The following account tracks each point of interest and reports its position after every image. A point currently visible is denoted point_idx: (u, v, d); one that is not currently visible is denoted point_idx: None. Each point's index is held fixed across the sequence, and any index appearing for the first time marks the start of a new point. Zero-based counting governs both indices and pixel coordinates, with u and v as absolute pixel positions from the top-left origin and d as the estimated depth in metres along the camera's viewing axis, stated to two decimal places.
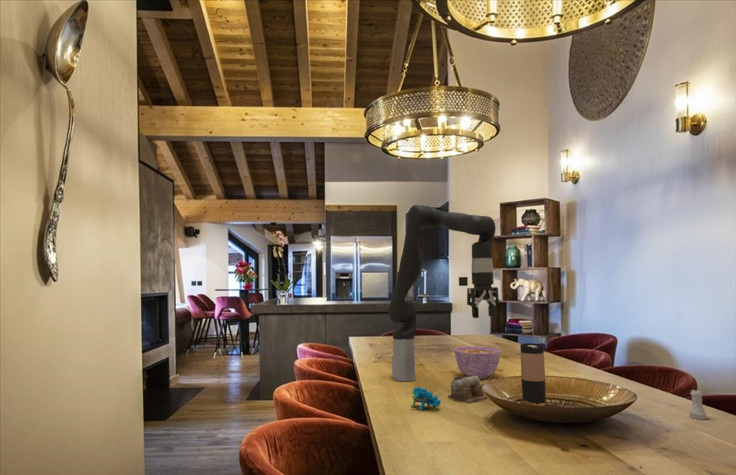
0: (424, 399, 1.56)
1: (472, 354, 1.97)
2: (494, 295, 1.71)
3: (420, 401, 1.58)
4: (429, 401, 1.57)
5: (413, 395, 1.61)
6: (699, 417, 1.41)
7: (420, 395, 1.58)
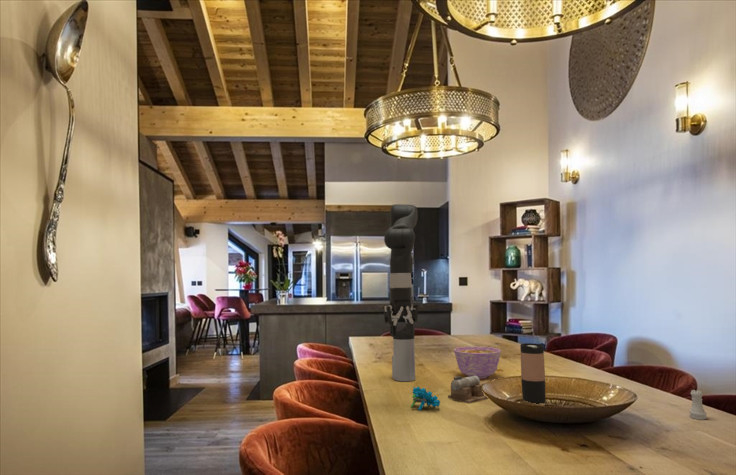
0: (423, 399, 1.56)
1: (472, 354, 1.97)
2: (413, 312, 1.65)
3: (420, 401, 1.58)
4: (429, 401, 1.57)
5: (413, 395, 1.61)
6: (699, 417, 1.41)
7: (420, 395, 1.58)
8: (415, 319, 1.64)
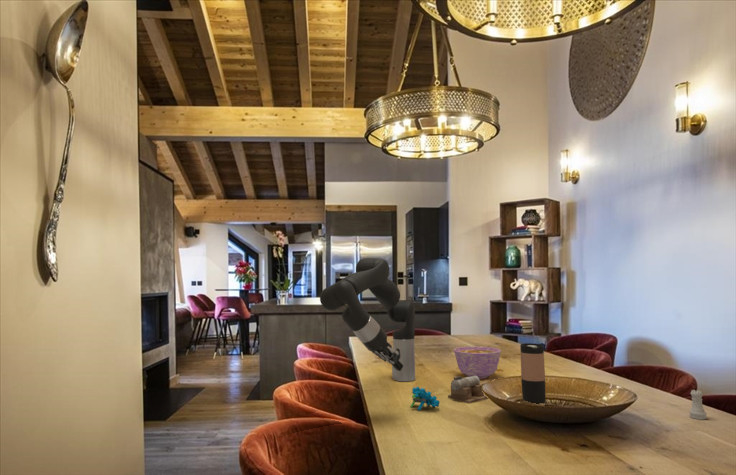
0: (423, 399, 1.56)
1: (472, 354, 1.97)
2: None
3: (419, 401, 1.58)
4: (428, 401, 1.57)
5: (413, 395, 1.61)
6: (699, 417, 1.41)
7: (419, 395, 1.58)
8: (394, 361, 1.47)
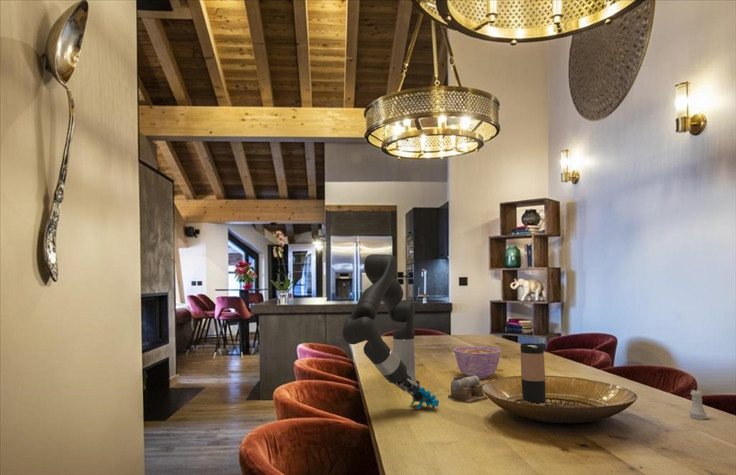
0: (422, 398, 1.56)
1: (472, 354, 1.97)
2: None
3: None
4: (428, 401, 1.57)
5: None
6: (699, 417, 1.41)
7: None
8: (413, 392, 1.52)
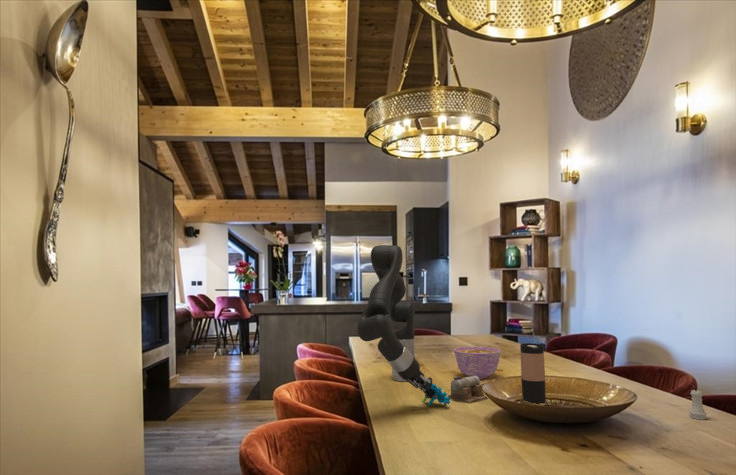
0: (434, 395, 1.59)
1: (472, 354, 1.97)
2: None
3: None
4: (439, 398, 1.60)
5: None
6: (699, 417, 1.41)
7: None
8: (426, 389, 1.55)
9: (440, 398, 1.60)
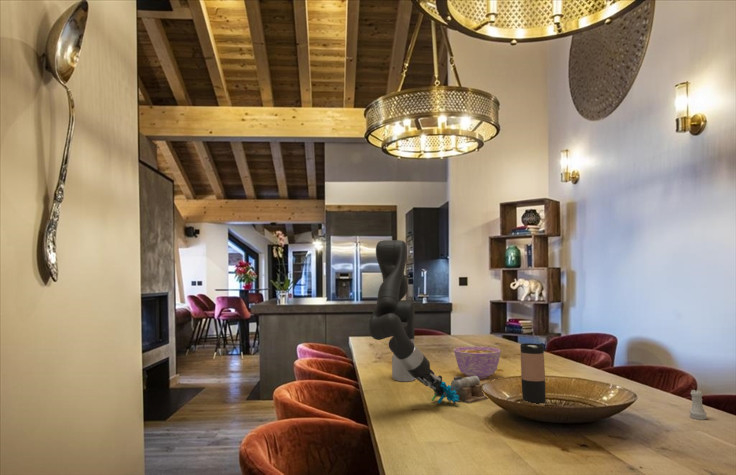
0: (443, 393, 1.61)
1: (472, 354, 1.97)
2: None
3: (440, 395, 1.63)
4: (449, 396, 1.62)
5: None
6: (699, 417, 1.41)
7: None
8: (436, 387, 1.57)
9: (449, 396, 1.62)
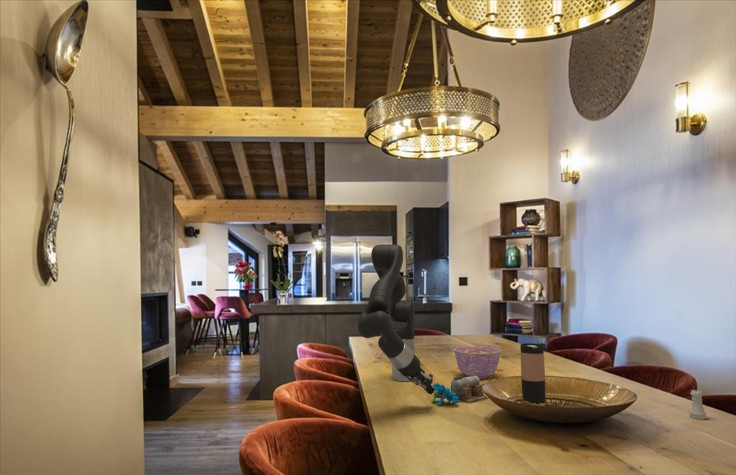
0: (443, 395, 1.61)
1: (472, 354, 1.97)
2: None
3: (440, 397, 1.63)
4: (448, 397, 1.62)
5: (434, 391, 1.66)
6: (699, 417, 1.41)
7: (439, 391, 1.63)
8: (426, 386, 1.54)
9: (449, 397, 1.62)
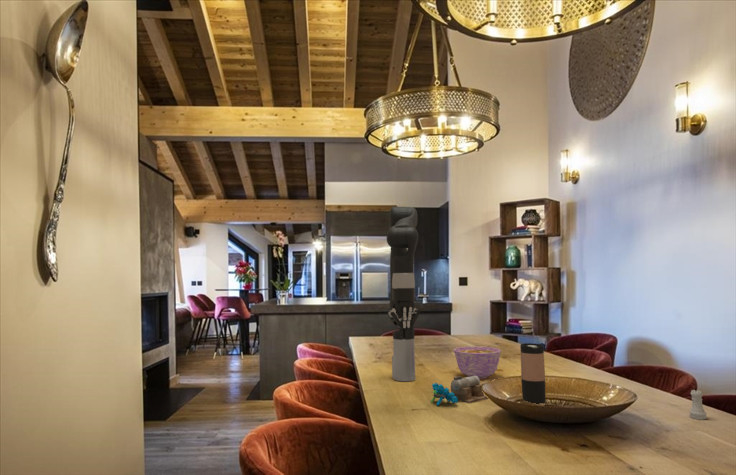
0: (442, 395, 1.61)
1: (472, 354, 1.97)
2: (413, 316, 1.59)
3: (439, 397, 1.63)
4: (447, 397, 1.62)
5: (433, 391, 1.66)
6: (699, 417, 1.41)
7: (439, 391, 1.63)
8: (412, 322, 1.58)
9: (448, 397, 1.62)
